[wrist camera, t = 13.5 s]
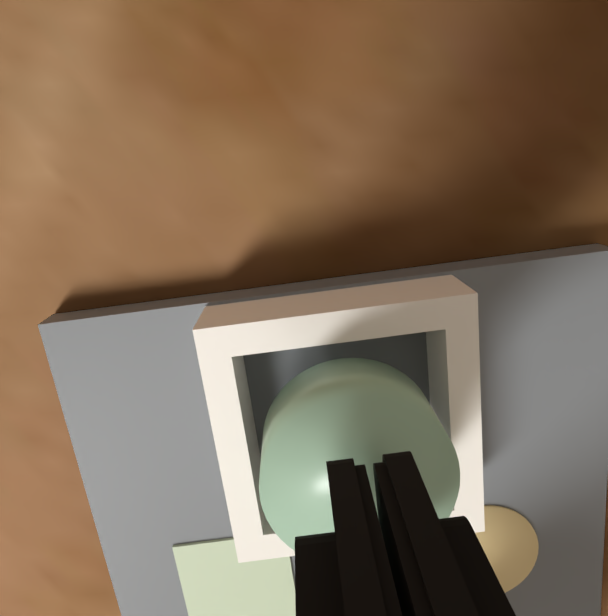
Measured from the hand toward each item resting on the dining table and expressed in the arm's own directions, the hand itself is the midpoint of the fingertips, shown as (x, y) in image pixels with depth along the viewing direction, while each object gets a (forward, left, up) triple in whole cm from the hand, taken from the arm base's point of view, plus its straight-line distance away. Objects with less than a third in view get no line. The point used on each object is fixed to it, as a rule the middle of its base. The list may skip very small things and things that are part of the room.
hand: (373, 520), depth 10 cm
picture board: (0, -8, -6) cm, 10 cm away
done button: (0, 0, -3) cm, 3 cm away
